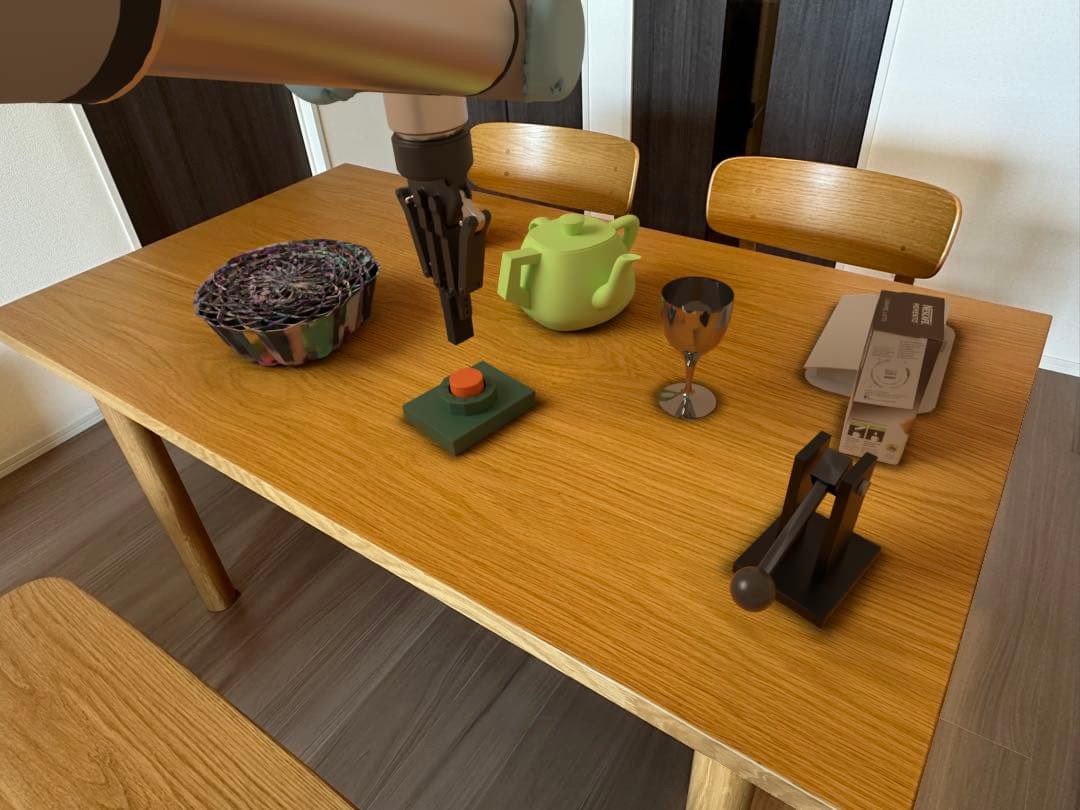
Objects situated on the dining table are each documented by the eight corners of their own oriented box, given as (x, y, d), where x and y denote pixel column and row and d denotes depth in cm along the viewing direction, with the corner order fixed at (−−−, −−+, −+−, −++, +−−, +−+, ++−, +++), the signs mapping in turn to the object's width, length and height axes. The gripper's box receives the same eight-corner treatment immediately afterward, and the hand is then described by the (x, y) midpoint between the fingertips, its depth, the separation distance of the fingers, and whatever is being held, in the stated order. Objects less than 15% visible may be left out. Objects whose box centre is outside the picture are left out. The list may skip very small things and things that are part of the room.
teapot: (528, 275, 114) (522, 190, 105) (650, 283, 110) (655, 194, 101) (498, 336, 100) (488, 243, 91) (636, 347, 96) (641, 251, 87)
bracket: (820, 629, 60) (857, 520, 51) (731, 571, 65) (751, 464, 57) (878, 556, 66) (920, 447, 57) (792, 508, 71) (819, 402, 63)
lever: (762, 626, 56) (756, 615, 53) (725, 600, 58) (717, 588, 55) (861, 477, 59) (861, 459, 56) (822, 457, 61) (819, 439, 58)
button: (465, 403, 82) (463, 391, 81) (444, 389, 84) (442, 378, 83) (490, 388, 84) (489, 376, 83) (469, 375, 86) (468, 363, 85)
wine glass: (662, 376, 90) (669, 272, 81) (724, 387, 88) (739, 281, 78) (647, 413, 84) (653, 305, 75) (713, 426, 82) (728, 316, 73)
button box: (455, 456, 80) (450, 429, 78) (404, 419, 86) (399, 393, 83) (536, 404, 87) (534, 378, 84) (484, 373, 93) (481, 348, 90)
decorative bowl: (410, 296, 114) (401, 238, 109) (351, 385, 92) (336, 317, 86) (264, 293, 117) (248, 237, 112) (172, 379, 95) (146, 313, 89)
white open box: (957, 326, 96) (967, 301, 93) (931, 419, 81) (941, 392, 78) (842, 301, 103) (848, 277, 100) (798, 382, 88) (804, 357, 85)
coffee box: (900, 467, 75) (945, 342, 65) (837, 453, 77) (872, 330, 67) (904, 417, 81) (946, 296, 71) (846, 405, 84) (879, 286, 74)
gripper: (505, 130, 63) (523, 345, 78) (420, 106, 71) (451, 306, 86) (440, 152, 59) (472, 374, 74) (358, 125, 67) (401, 331, 82)
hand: (461, 338), depth 80 cm, fingers closed
